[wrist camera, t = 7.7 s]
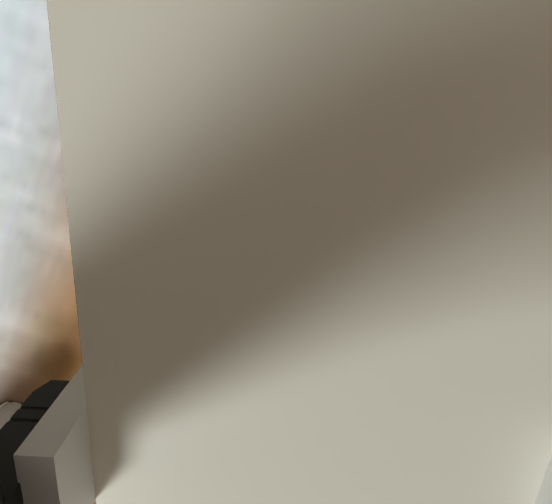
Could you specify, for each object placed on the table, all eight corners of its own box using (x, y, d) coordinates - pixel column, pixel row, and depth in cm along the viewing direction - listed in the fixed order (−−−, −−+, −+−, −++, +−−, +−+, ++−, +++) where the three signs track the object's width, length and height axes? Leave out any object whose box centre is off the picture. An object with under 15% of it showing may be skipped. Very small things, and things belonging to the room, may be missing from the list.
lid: (115, -46, 9) (34, -124, 6) (586, -9, 9) (737, -69, 6) (147, 610, 16) (117, 726, 13) (419, 621, 16) (451, 738, 13)
